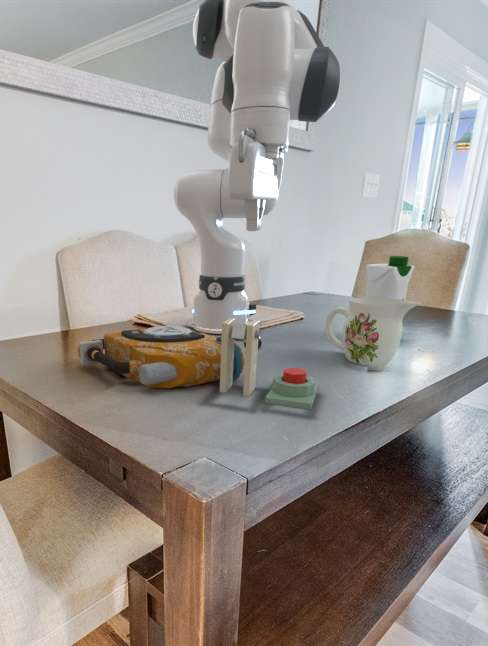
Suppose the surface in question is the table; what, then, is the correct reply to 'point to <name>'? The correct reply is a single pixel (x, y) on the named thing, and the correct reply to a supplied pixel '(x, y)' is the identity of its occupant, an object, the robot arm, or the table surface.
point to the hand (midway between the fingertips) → (253, 230)
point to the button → (294, 375)
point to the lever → (242, 334)
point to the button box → (292, 393)
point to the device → (161, 356)
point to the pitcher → (370, 329)
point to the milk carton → (389, 278)
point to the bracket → (228, 356)
